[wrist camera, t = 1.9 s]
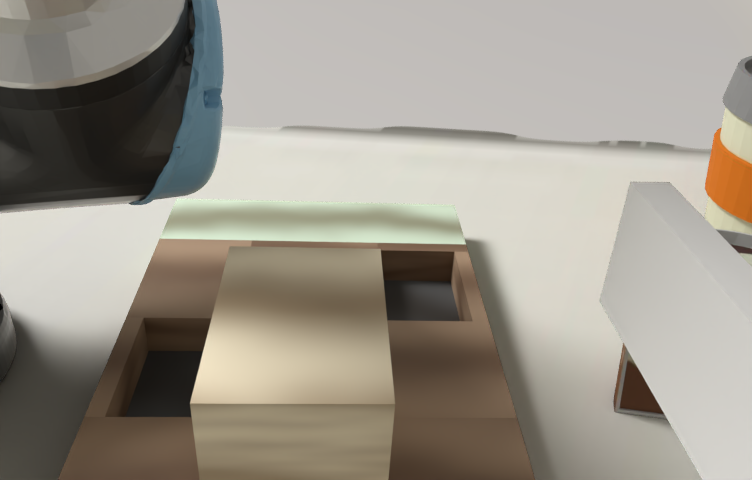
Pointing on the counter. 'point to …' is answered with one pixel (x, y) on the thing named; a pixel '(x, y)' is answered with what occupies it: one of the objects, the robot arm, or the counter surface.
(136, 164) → the robot arm
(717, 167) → the reusable coffee cup
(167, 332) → the board
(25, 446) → the counter surface
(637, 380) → the food container
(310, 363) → the block
